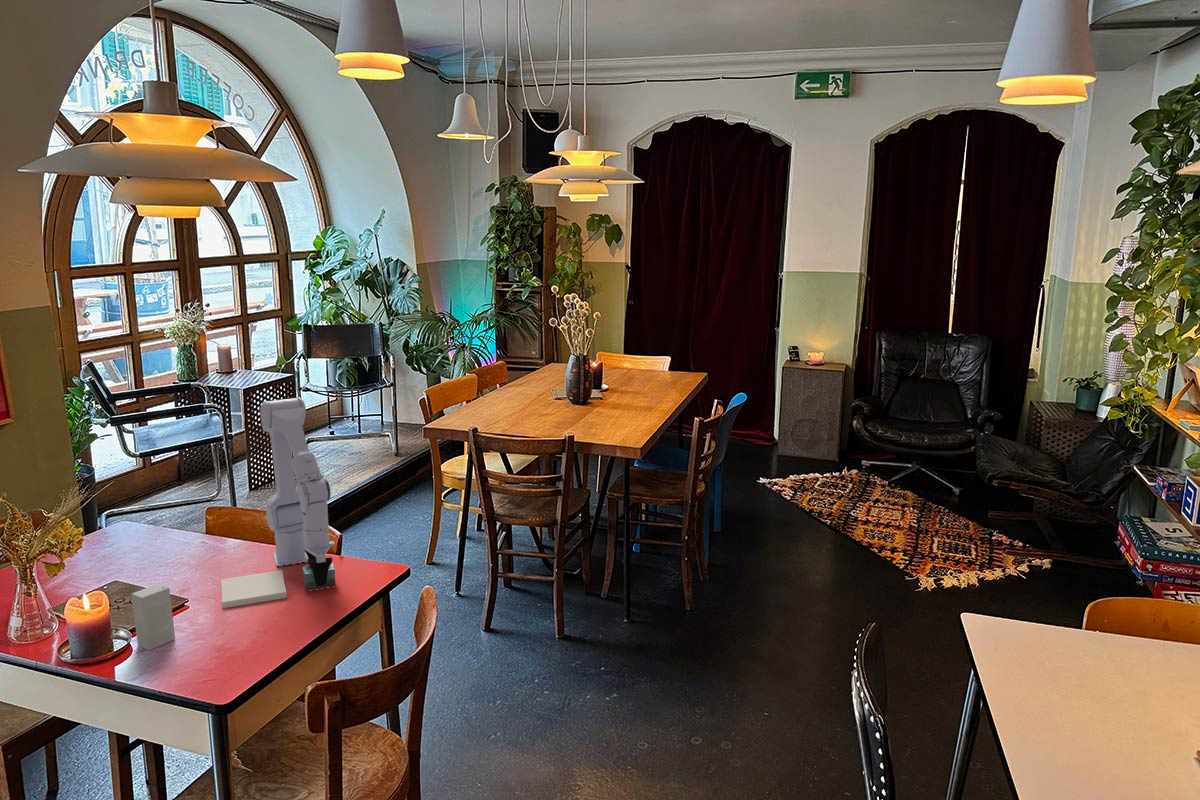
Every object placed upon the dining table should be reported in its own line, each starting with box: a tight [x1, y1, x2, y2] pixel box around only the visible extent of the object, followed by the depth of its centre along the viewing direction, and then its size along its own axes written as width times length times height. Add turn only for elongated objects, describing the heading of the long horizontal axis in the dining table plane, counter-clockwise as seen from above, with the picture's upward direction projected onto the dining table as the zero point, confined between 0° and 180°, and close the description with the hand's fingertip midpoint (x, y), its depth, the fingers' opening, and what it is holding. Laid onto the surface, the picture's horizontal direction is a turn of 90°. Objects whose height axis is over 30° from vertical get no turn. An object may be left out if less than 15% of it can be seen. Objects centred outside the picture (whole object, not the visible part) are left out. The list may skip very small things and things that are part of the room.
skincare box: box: [130, 583, 176, 652], centre depth 172 cm, size 6×4×12 cm
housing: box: [302, 562, 337, 592], centre depth 201 cm, size 5×7×5 cm, turn 115°
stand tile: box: [220, 569, 288, 609], centre depth 198 cm, size 14×14×2 cm
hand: (319, 579), depth 202 cm, fingers open, 7 cm apart
